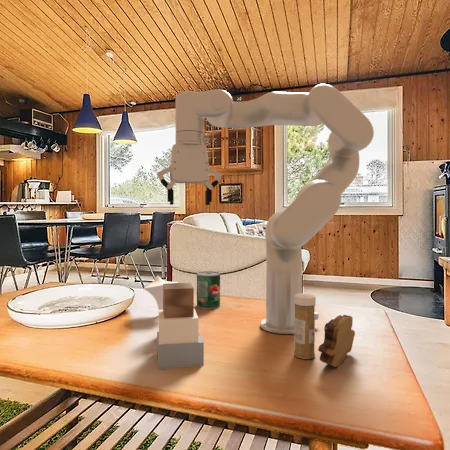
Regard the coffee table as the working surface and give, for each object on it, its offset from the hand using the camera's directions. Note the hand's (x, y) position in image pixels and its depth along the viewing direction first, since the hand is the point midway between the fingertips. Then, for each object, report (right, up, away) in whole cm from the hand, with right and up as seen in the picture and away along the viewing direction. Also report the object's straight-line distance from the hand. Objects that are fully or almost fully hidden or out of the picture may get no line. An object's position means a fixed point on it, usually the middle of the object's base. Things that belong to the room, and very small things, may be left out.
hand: (189, 204), depth 100 cm
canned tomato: (+4, -33, +25) cm, 41 cm away
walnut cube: (-1, -24, -20) cm, 32 cm away
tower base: (0, -34, -20) cm, 40 cm away
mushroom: (-10, -33, +13) cm, 37 cm away
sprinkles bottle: (+27, -34, -18) cm, 47 cm away
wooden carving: (+33, -35, -22) cm, 52 cm away
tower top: (-1, -29, -20) cm, 36 cm away
